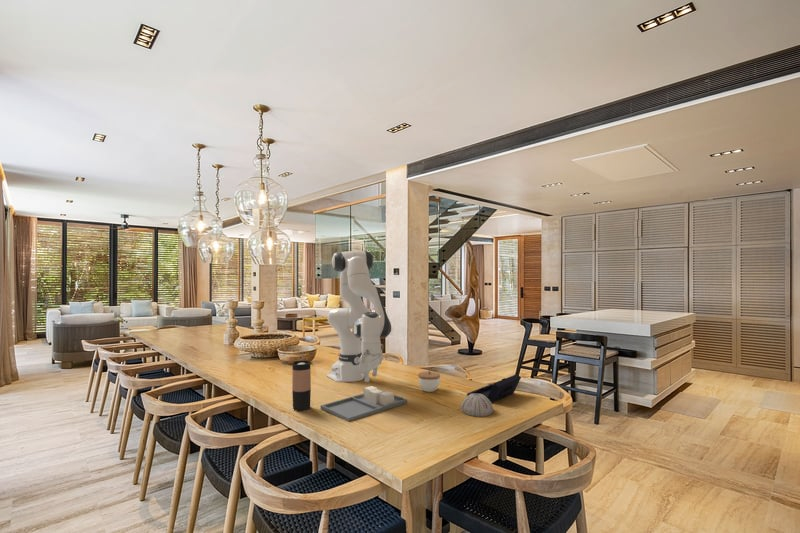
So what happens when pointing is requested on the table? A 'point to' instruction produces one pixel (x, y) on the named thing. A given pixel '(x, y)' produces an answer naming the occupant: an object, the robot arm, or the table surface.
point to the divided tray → (358, 407)
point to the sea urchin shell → (477, 405)
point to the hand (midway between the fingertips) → (370, 378)
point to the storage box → (499, 388)
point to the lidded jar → (429, 381)
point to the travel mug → (301, 385)
